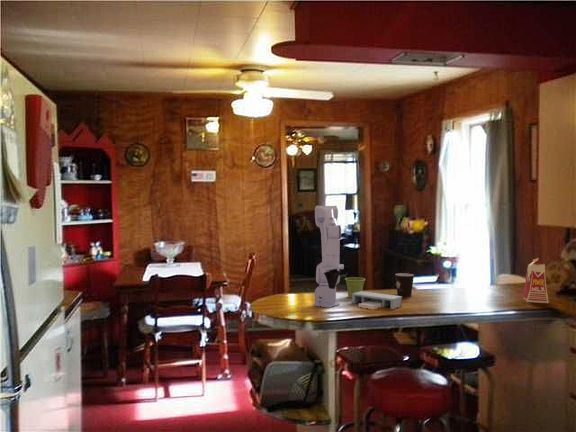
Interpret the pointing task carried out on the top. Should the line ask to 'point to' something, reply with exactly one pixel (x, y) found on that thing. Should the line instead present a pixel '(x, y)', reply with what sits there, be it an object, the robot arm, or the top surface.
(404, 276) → the coffee mug
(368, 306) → the tile
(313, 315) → the top surface
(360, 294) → the shelf
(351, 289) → the plant pot
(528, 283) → the milk carton
